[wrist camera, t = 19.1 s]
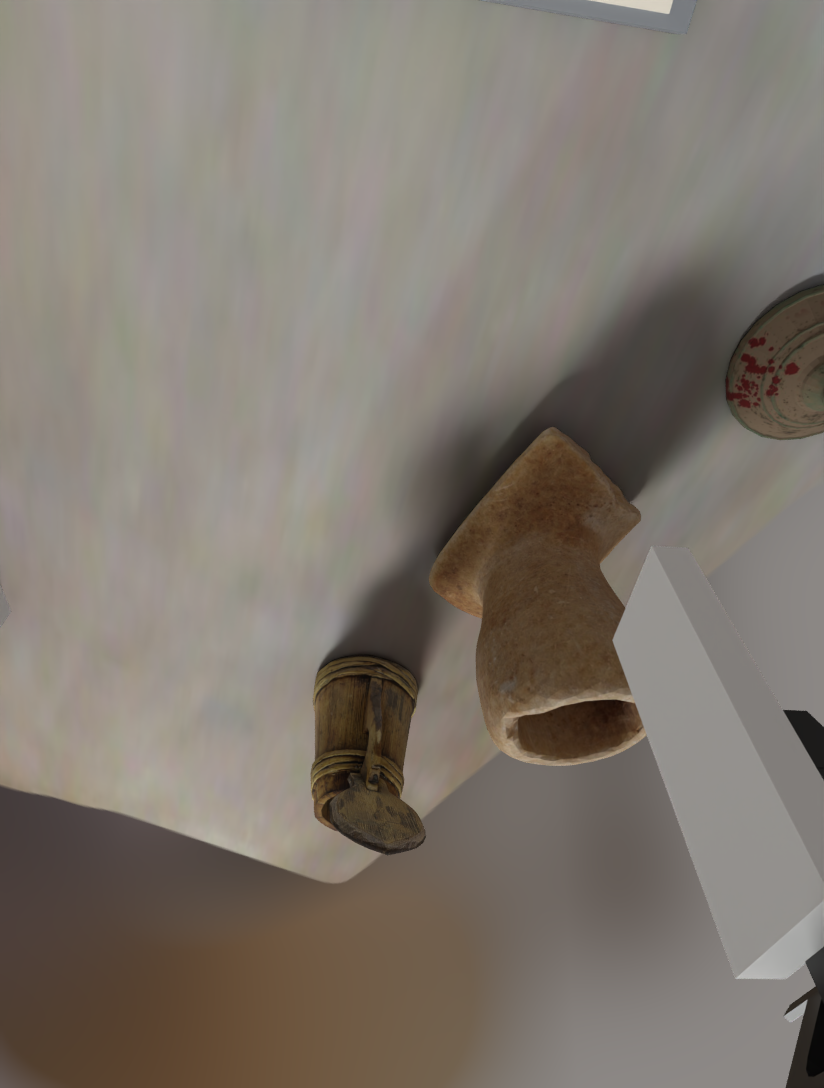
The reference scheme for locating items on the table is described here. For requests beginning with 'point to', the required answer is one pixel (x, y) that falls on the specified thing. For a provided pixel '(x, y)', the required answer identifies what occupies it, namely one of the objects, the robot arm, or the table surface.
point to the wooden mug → (364, 752)
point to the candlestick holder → (781, 370)
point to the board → (620, 11)
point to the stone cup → (546, 606)
